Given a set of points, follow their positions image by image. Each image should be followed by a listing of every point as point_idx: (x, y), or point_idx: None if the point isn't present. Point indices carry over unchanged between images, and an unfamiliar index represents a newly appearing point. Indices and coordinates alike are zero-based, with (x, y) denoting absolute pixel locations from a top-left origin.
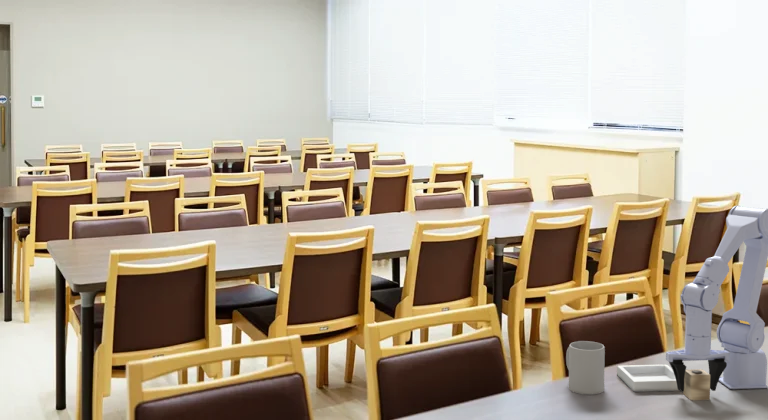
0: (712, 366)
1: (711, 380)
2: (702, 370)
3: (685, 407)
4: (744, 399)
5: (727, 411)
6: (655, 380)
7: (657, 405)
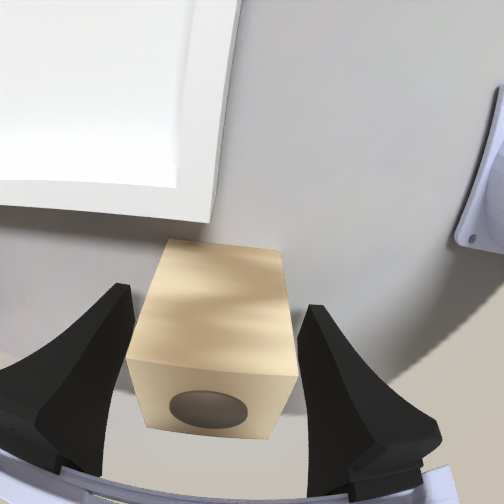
0: (329, 448)
1: (313, 362)
2: (275, 395)
3: (124, 363)
4: (398, 339)
5: None
6: (4, 193)
7: (37, 326)
